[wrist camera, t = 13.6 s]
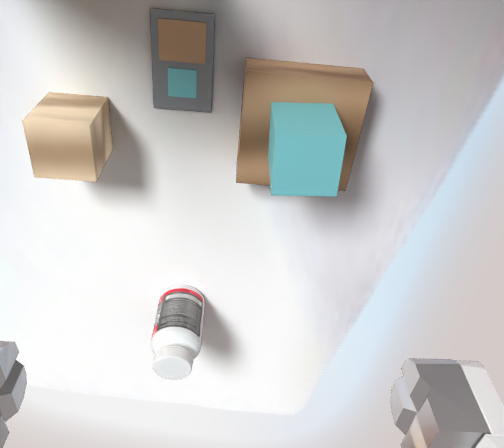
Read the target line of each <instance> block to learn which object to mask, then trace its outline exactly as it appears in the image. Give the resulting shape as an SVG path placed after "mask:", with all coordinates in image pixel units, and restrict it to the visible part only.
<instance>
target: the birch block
mask: <svg viewBox="0 0 504 448" xmlns="http://www.w3.org/2000/svg"><path fill="white" fill-rule="evenodd" d="M22 122H23V126H24V131H25V136H26V140H27V145H28V150H29V154H30V159H31V164H32V168H33V173H34V177H37V178H51V179H65V180H79V181H93V182H97V180H98V178H99V176H100V174H101V172H102V170H103V168H104V166H105V164H106V162H107V160H108V158H109V156H110V154H111V152H112V150H113V145H112V135H111V124H110V114H109V103H108V97H100V96H88V95H76V94H64V93H52V92H49V93H48V94H47V95H46V96H45V97H44V98H43V99H42V100H41V101H40V102H39V103H38V104H37V105H36V106H35V107H34V109H33V110H32V111H31V112H30V113H29V114H28V115H27V116H26V117H25V118H24V119H23V120H22Z"/></svg>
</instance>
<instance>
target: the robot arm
mask: <svg viewBox="0 0 504 448" xmlns="http://www.w3.org/2000/svg"><path fill="white" fill-rule="evenodd" d="M18 353H19V351H18V348H17V346H16V344H15V342H10V341H0V448H3V446H4V444H5V441H6V439H7V436H8V434H9V430H8V427H7V424H6V421H7V420H8V419H9V418H11V417H12V416H13V415H14V414H16V413H17V412H18V410H19V408H20V406H21V403H22V400H23V398H24V393H25V388H26V384H27V381H26V371H25V368H24V365H22V364H21V363H19V362H18V361H17V360H16V358H17V355H18ZM401 369H402V373H403V376H402V377H401V378H399V379H397V380H396V381H395V383H394V385H393V388H392V390H391V391H392V392H391V409H392V415H393V419H394V423H395V425H396V426H397V427H398V428H399V429H400V430H401V431H402V432H403V433H404V434H405V436H404V438H403V441H402V443H401V448H504V406H503V404H502V402H501V400H500V398H499V396H498V394H497V392H496V390H495V388H494V386H493V384H492V382H491V380H490V378H489V376H488V374H487V372H486V370H485V368H484V366H483V365H482V364H481V363H479V362H478V361H457V360H455V361H454V360H450V359H449V360H448V359H447V360H446V359H415V358H409V359H408V360H406V361H405V362H404V364H403V366H402V368H401Z"/></svg>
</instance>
